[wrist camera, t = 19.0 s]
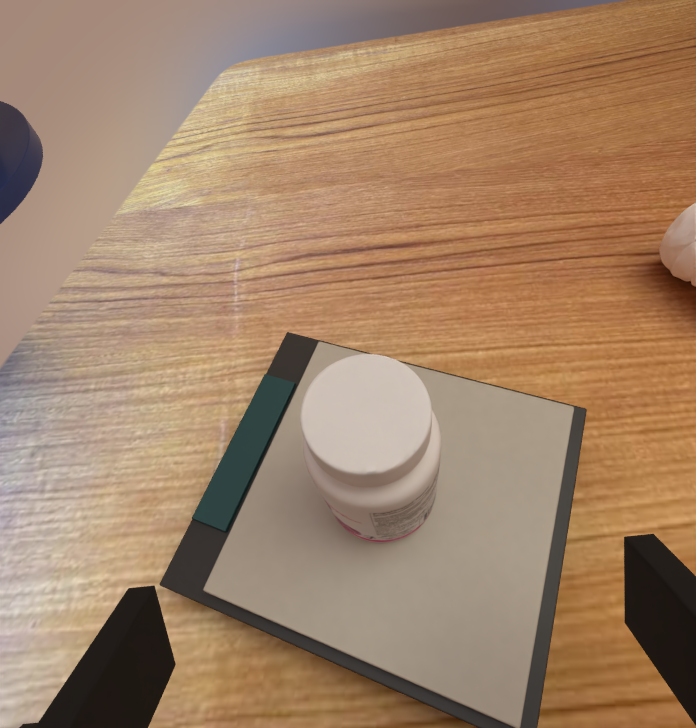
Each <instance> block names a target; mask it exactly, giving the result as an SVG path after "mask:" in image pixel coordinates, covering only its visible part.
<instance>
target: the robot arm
mask: <svg viewBox="0 0 696 728" xmlns="http://www.w3.org/2000/svg"><path fill="white" fill-rule="evenodd" d="M624 574H625V624H626V625H627V626H628V628H629V629H630V631H631V632H632V634H633V635H634V637H635V638H636V639H637V641H638V642H639V644H640V645H641V647H642V648H643V650H644V651H645V653H646V654H647V655H648V657H649V658H650V660H651V661H652V663H653V664H654V666H655V667H656V668H657V670H658V671H659V673H660V674H661V676H662V677H663V679H664V680H665V682H666V683H667V684H668V686H669V687H670V689H671V690H672V692H673V693H674V695H675V696H676V697H677V699H678V700H679V702H680V703H681V705H682V706H683V708H684V709H685V710H686V712H687V713H688V715H689V716H690V718H691V719H692V721H693V722H694V724H695V725H696V576H695V575H694V574H693V573H692V572H691V571H690V570H689V569H688V568H687V567H686V566H685V565H684V564H683V563H682V562H681V561H680V560H679V559H678V558H677V557H676V556H675V555H674V554H673V553H672V552H671V551H670V550H669V549H668V548H667V547H666V546H665V545H664V544H663V543H662V542H661V541H660V540H659V539H658V538H657V537H656V536H655V535H654V534H648V535H638V536H628V537H624ZM175 665H176V664H175V661H174V657H173V653H172V649H171V646H170V642H169V638H168V635H167V631H166V627H165V623H164V620H163V616H162V612H161V608H160V605H159V601H158V597H157V594H156V590H155V586H147V587H137V588H128V590H127V591H126V593H125V594H124V596H123V597H122V599H121V600H120V602H119V603H118V605H117V606H116V608H115V609H114V611H113V612H112V614H111V615H110V617H109V618H108V620H107V621H106V623H105V624H104V626H103V627H102V629H101V630H100V632H99V633H98V635H97V636H96V638H95V639H94V641H93V642H92V644H91V645H90V647H89V648H88V650H87V651H86V653H85V654H84V656H83V657H82V658H81V660H80V661H79V663H78V664H77V666H76V667H75V669H74V670H73V672H72V673H71V675H70V676H69V678H68V679H67V681H66V682H65V684H64V685H63V687H62V688H61V690H60V691H59V693H58V694H57V696H56V697H55V699H54V700H53V702H52V703H51V705H50V706H49V708H48V709H47V711H46V712H45V714H44V715H43V717H42V718H41V720H40V721H39V723H31V724H23V725H22V726H21V727H20V728H148V726H149V724H150V722H151V719H152V717H153V715H154V713H155V710H156V708H157V706H158V704H159V701H160V699H161V697H162V694H163V692H164V690H165V688H166V685H167V683H168V681H169V679H170V676H171V674H172V672H173V669H174V667H175Z"/></svg>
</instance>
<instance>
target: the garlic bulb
mask: <svg viewBox="0 0 696 728" xmlns="http://www.w3.org/2000/svg"><path fill="white" fill-rule="evenodd" d="M660 258H661V261H662V263H663V264H664V265H665V267H667V268H668V269H669V270H670V271H671V274H672V275H673V276H675V277H677V278H680V279H682V280H684V281H686V282H688V281H691V284H692V285H693V286H695V287H696V203H694V204H693V205H691V206H690V207H688V208H687V209H686V210H684V211H683V212H682V213H681V214H680V215H679V216H678V217H677V218H676V220H675V221H674V222H673V223H672V224H671V225H670V226H669V228H668V230H667V231H666V233H665V235H664V237H663V240H662V242H661V244H660Z"/></svg>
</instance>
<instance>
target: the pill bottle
mask: <svg viewBox="0 0 696 728" xmlns="http://www.w3.org/2000/svg"><path fill="white" fill-rule="evenodd" d="M300 422H301V429H302V433H303V436H304V437H303V452H304V458H305V462H306V465H307V468H308V472H309V474H310V476H311V477H312V479H313V481H314V482H315V484H316V486H317V488H318V489H319V491H320V493H321V495H322V496H323V498H324V499H325V501H326V503H327V504H328V506H329V508H330V509H331V511H332V512H333V514H334V516H335V517H336V519H337V520H338V522H339V523H340V524H341V525H342V526H343V527H344V528H345V529H346V530H347V531H348V532H350V533H351V534H353V535H354V536H356V537H358V538H360V539H363V540H366V541H369V542H375V543H388V542H393V541H397V540H400V539H403V538H405V537H407V536H409V535H411V534H412V533H414V532H415V531H416V530H418V529H419V528H420V527H421V526H422V524H423V523H424V522H425V521H426V519H427V518H428V516H429V514H430V512H431V510H432V508H433V505H434V502H435V497H436V490H437V482H438V475H439V467H440V459H441V447H442V442H441V432H440V428H439V424H438V421H437V419H436V416H435V414H434V412H433V411H432V407H431V400H430V397H429V394H428V392H427V389H426V387H425V385H424V384H423V382H422V381H421V379H420V378H419V377H418V376H417V375H416V373H415V372H414V371H412V370H411V369H410V368H409V367H408V366H406V365H405V364H403V363H401V362H399V361H398V360H395V359H393V358H390V357H387V356H383V355H376V354H360V355H354V356H350V357H346V358H343V359H341V360H339V361H337V362H335V363H333V364H331V365H329V366H328V367H326V368H325V369H324V370H323V371H321V372H320V373H319V374H318V375H317V376H316V377H315V379H314V380H313V381H312V383H311V384H310V386H309V387H308V389H307V391H306V393H305V396H304V398H303V401H302V406H301V413H300Z"/></svg>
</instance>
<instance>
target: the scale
mask: <svg viewBox="0 0 696 728" xmlns="http://www.w3.org/2000/svg"><path fill="white" fill-rule="evenodd" d="M360 354H370V353H367V352H363V351H359V350H355V349H351V348H347V347H343V346H339V345H335V344H331V343H328V342H324V341H320V340H316V339H312V338H308V337H304V336H300V335H296V334H292V333H289V332H287V334H286V336H285V338H284V340H283V342H282V344H281V346H280V348H279V350H278V352H277V354H276V356H275V358H274V360H273V362H272V364H271V366H270V368H269V370H268V371H267V373H266V374H265V375H264V377H263V379H262V381H261V383H260V385H259V387H258V389H257V391H256V393H255V395H254V397H253V399H252V401H251V403H250V405H249V407H248V409H247V411H246V412H245V414H244V416H243V418H242V420H241V422H240V424H239V426H238V428H237V430H236V432H235V434H234V436H233V438H232V440H231V442H230V444H229V446H228V448H227V450H226V452H225V454H224V456H223V458H222V460H221V462H220V464H219V466H218V468H217V470H216V472H215V473H214V475H213V477H212V479H211V481H210V483H209V485H208V487H207V489H206V491H205V493H204V495H203V497H202V499H201V501H200V503H199V505H198V507H197V509H196V511H195V513H194V515H193V517H192V521H191V523H190V525H189V527H188V529H187V531H186V533H185V535H184V537H183V539H182V541H181V543H180V545H179V547H178V549H177V551H176V553H175V555H174V557H173V559H172V561H171V563H170V565H169V567H168V569H167V571H166V573H165V575H164V577H163V579H162V581H161V582H160V585H161V586H163V587H165V588H167V589H170V590H172V591H174V592H176V593H179V594H181V595H183V596H185V597H187V598H190V599H192V600H194V601H196V602H199V603H201V604H203V605H205V606H208V607H210V608H212V609H214V610H217V611H219V612H221V613H223V614H226V615H228V616H230V617H232V618H234V619H237V620H239V621H241V622H243V623H246V624H248V625H250V626H252V627H255V628H257V629H259V630H261V631H264V632H266V633H268V634H270V635H272V636H275V637H277V638H279V639H281V640H284V641H286V642H288V643H290V644H293V645H295V646H297V647H299V648H302V649H304V650H306V651H308V652H310V653H313V654H315V655H317V656H319V657H322V658H324V659H326V660H328V661H331V662H333V663H335V664H337V665H340V666H342V667H344V668H346V669H348V670H351V671H353V672H355V673H357V674H360V675H362V676H364V677H366V678H369V679H371V680H373V681H375V682H378V683H380V684H382V685H384V686H387V687H389V688H391V689H393V690H395V691H398V692H400V693H402V694H404V695H407V696H409V697H411V698H413V699H416V700H418V701H420V702H422V703H425V704H427V705H429V706H431V707H433V708H436V709H438V710H440V711H442V712H445V713H447V714H449V715H451V716H454V717H456V718H458V719H460V720H463V721H465V722H467V723H469V724H471V725H474V726H476V727H478V728H537V725H538V719H539V712H540V706H541V700H542V693H543V687H544V680H545V674H546V668H547V661H548V655H549V648H550V642H551V635H552V629H553V623H554V616H555V610H556V603H557V597H558V590H559V584H560V578H561V571H562V565H563V558H564V552H565V546H566V539H567V533H568V526H569V520H570V513H571V507H572V501H573V494H574V488H575V481H576V475H577V468H578V462H579V456H580V449H581V443H582V436H583V430H584V424H585V417H586V411H587V410H586V409H585V408H581V407H577V406H573V405H569V404H565V403H561V402H558V401H554V400H550V399H546V398H542V397H538V396H534V395H530V394H526V393H522V392H519V391H515V390H511V389H507V388H503V387H499V386H495V385H491V384H487V383H483V382H480V381H476V380H472V379H468V378H464V377H460V376H456V375H452V374H448V373H445V372H441V371H437V370H433V369H429V368H425V367H421V366H417V365H413V364H409V363H406V362H402V361H399V362H401V363H403V364H405V365H406V366H408V367H409V368H410V369H411V370H412V371H414V372H415V373H416V375H417V376H418V377H419V378H420V379H421V381H422V382H423V384H424V385H425V387H426V389H427V392H428V394H429V397H430V400H431V407H432V411H433V412H434V414H435V416H436V419H437V421H438V424H439V428H440V432H441V442H442V447H441V459H440V467H439V475H438V482H437V490H436V497H435V502H434V505H433V508H432V510H431V512H430V514H429V516H428V518H427V519H426V521H425V522H424V523H423V524H422V526H421V527H420V528H419V529H418V530H416V531H415V532H414V533H412V534H411V535H409V536H407V537H405V538H403V539H400V540H397V541H393V542H388V543H375V542H369V541H366V540H363V539H360V538H358V537H356V536H354V535H353V534H351V533H350V532H348V531H347V530H346V529H345V528H344V527H343V526H342V525H341V524H340V523H339V522H338V520H337V519H336V517H335V516H334V514H333V512H332V511H331V509H330V508H329V506H328V504H327V503H326V501H325V499H324V498H323V496H322V495H321V493H320V491H319V489H318V488H317V486H316V484H315V482H314V481H313V479H312V477H311V476H310V474H309V472H308V468H307V465H306V462H305V458H304V452H303V437H304V436H303V433H302V429H301V422H300V413H301V406H302V401H303V398H304V396H305V393H306V391H307V389H308V387H309V386H310V384H311V383H312V381H313V380H314V379H315V377H316V376H317V375H318V374H319V373H320V372H321V371H323V370H324V369H325V368H326V367H328V366H329V365H331V364H333V363H335V362H337V361H339V360H341V359H343V358H346V357H350V356H354V355H360Z"/></svg>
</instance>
